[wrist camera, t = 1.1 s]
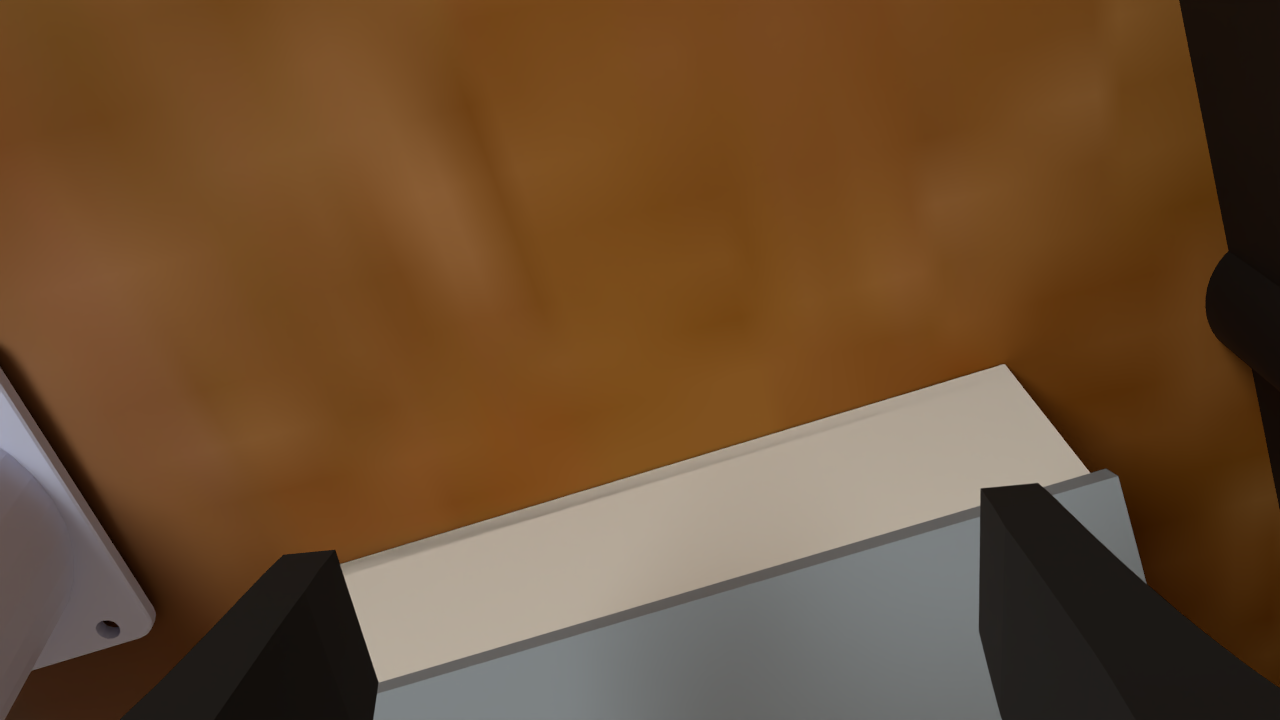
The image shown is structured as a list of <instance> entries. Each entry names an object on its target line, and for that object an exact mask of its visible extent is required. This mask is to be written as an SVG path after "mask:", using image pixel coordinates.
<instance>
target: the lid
mask: <svg viewBox="0 0 1280 720" xmlns="http://www.w3.org/2000/svg"><path fill="white" fill-rule="evenodd" d="M1043 488H1045V489H1046V490H1047V491H1048V492H1049V493H1050V494H1051V495H1052V496H1053V497H1054V498H1055V499H1056V500H1058V501H1059V502H1060V503H1061V504H1062V505H1063V506H1064V507H1065V508H1066V509H1067V510H1068V511H1069V512H1070V513H1071V514H1072V515H1073V516H1074V517H1075V518H1076V519H1077V520H1078V521H1079V522H1080V523H1081V524H1082V525H1083V526H1084V527H1085V528H1086V529H1087V530H1088V531H1089V532H1091V533H1092V534H1093V535H1094V536H1095V537H1096V538H1097V539H1098V540H1099V541H1100V542H1101V543H1102V544H1103V545H1104V546H1105V547H1106V548H1108V549H1109V550H1110V551H1111V552H1112V553H1113V554H1114V555H1115V556H1116V557H1117V558H1118V559H1119V560H1120V561H1122V562H1123V563H1124V564H1125V565H1126V566H1127V567H1128V568H1129V569H1130V570H1131V571H1133V572H1134V573H1135V574H1136V575H1137V576H1138V577H1139V578H1140V579H1142V580H1143V581H1144V582H1145V583H1146V579H1145V576H1144V572H1143V568H1142V564H1141V560H1140V557H1139V553H1138V549H1137V545H1136V542H1135V538H1134V534H1133V530H1132V526H1131V523H1130V519H1129V515H1128V511H1127V508H1126V504H1125V500H1124V496H1123V493H1122V489H1121V485H1120V481H1119V477H1118V476H1117V475H1116V474H1114V473H1112V472H1111V471H1109V470H1107V469H1103V470H1099V471H1096V472H1093V473H1089V474H1086V475H1082V476H1079V477H1076V478H1072V479H1069V480H1065V481H1062V482H1059V483H1055V484H1052V485H1048V486H1045V487H1043ZM979 568H980V506H977V507H974V508H970V509H967V510H964V511H960V512H957V513H953V514H950V515H947V516H943V517H940V518H936V519H933V520H930V521H926V522H923V523H919V524H916V525H913V526H909V527H906V528H902V529H899V530H896V531H892V532H889V533H885V534H882V535H879V536H875V537H872V538H868V539H865V540H862V541H858V542H855V543H851V544H848V545H845V546H841V547H838V548H834V549H831V550H828V551H824V552H821V553H817V554H814V555H811V556H807V557H804V558H800V559H797V560H794V561H790V562H787V563H783V564H780V565H777V566H773V567H770V568H766V569H763V570H760V571H756V572H753V573H749V574H746V575H743V576H739V577H736V578H732V579H729V580H726V581H722V582H719V583H716V584H712V585H709V586H705V587H702V588H699V589H695V590H692V591H688V592H685V593H682V594H678V595H675V596H671V597H668V598H665V599H661V600H658V601H654V602H651V603H648V604H644V605H641V606H637V607H634V608H631V609H627V610H624V611H620V612H617V613H614V614H610V615H607V616H603V617H600V618H597V619H593V620H590V621H586V622H583V623H580V624H576V625H573V626H569V627H566V628H563V629H559V630H556V631H552V632H549V633H546V634H542V635H539V636H535V637H532V638H529V639H525V640H522V641H518V642H515V643H512V644H508V645H505V646H501V647H498V648H495V649H491V650H488V651H484V652H481V653H478V654H474V655H471V656H467V657H464V658H461V659H457V660H454V661H451V662H447V663H444V664H440V665H437V666H434V667H430V668H427V669H423V670H420V671H417V672H413V673H410V674H406V675H403V676H400V677H396V678H393V679H389V680H386V681H383V682H379V683H378V690H377V697H376V704H375V711H374V718H373V720H1002V718H1001V716H1000V712H999V708H998V705H997V701H996V697H995V693H994V690H993V686H992V682H991V678H990V674H989V670H988V666H987V662H986V658H985V654H984V650H983V646H982V642H981V638H980V634H979ZM1146 584H1147V583H1146Z"/></svg>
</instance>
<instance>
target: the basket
mask: <svg viewBox="0 0 1280 720" xmlns="http://www.w3.org/2000/svg"><path fill="white" fill-rule="evenodd" d="M1179 1H1180V6H1181V11H1182V17H1183V22H1184V27H1185V32H1186V37H1187V42H1188V47H1189V52H1190V57H1191V62H1192V67H1193V72H1194V77H1195V82H1196V88H1197V93H1198V98H1199V103H1200V108H1201V113H1202V118H1203V123H1204V128H1205V133H1206V138H1207V143H1208V148H1209V153H1210V159H1211V164H1212V169H1213V174H1214V179H1215V184H1216V189H1217V194H1218V199H1219V204H1220V209H1221V214H1222V219H1223V224H1224V230H1225V235H1226V240H1227V245H1228V250H1229V251H1228V252H1227V253H1226V254H1225V255H1224V257H1223V258H1222V259H1221V260H1220V262H1219V263H1218V265H1217V266H1216V268H1215V270H1214V272H1213V274H1212V276H1211V278H1210V281H1209V284H1208V287H1207V293H1206V315H1207V319H1208V322H1209V325H1210V327H1211V329H1212V331H1213V333H1214V334H1215V336H1216V337H1217V338H1218V339H1219V340H1220V341H1221V342H1222V343H1223V344H1224V345H1225V346H1226V347H1228V348H1229V349H1230V350H1231V351H1232V352H1233V353H1235V354H1236V355H1237V356H1238V357H1239V358H1241V359H1242V360H1243V361H1244V362H1245V363H1246V364H1248V365H1249V366H1250V367H1251V368H1252V372H1253V377H1254V382H1255V387H1256V392H1257V397H1258V402H1259V407H1260V412H1261V417H1262V422H1263V427H1264V432H1265V437H1266V443H1267V448H1268V453H1269V458H1270V463H1271V468H1272V473H1273V478H1274V483H1275V488H1276V493H1277V498H1278V503H1279V508H1280V0H1179Z"/></svg>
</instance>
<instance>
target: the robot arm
mask: <svg viewBox="0 0 1280 720" xmlns="http://www.w3.org/2000/svg"><path fill="white" fill-rule="evenodd" d="M155 617H156V613H155V610H154V607H153V606H152V604H151V603H150V601H149V599H148V598H147V596H146V595H145V593H144V592H143V590H142V588H141V587H140V585H139V584H138V582H137V581H136V579H135V577H134V576H133V574H132V573H131V571H130V570H129V568H128V566H127V565H126V563H125V562H124V560H123V559H122V557H121V555H120V554H119V552H118V551H117V549H116V548H115V546H114V545H113V543H112V541H111V540H110V538H109V537H108V535H107V534H106V532H105V530H104V529H103V527H102V526H101V524H100V523H99V521H98V519H97V518H96V516H95V515H94V513H93V512H92V510H91V508H90V507H89V505H88V504H87V502H86V501H85V499H84V497H83V496H82V494H81V493H80V491H79V490H78V488H77V487H76V485H75V483H74V482H73V480H72V479H71V477H70V476H69V474H68V472H67V471H66V469H65V468H64V466H63V465H62V463H61V461H60V460H59V458H58V457H57V455H56V454H55V452H54V450H53V449H52V447H51V446H50V444H49V443H48V441H47V439H46V438H45V436H44V435H43V433H42V432H41V430H40V429H39V427H38V425H37V424H36V422H35V421H34V419H33V418H32V416H31V414H30V413H29V411H28V410H27V408H26V407H25V405H24V403H23V402H22V400H21V399H20V397H19V396H18V394H17V392H16V391H15V389H14V388H13V386H12V385H11V383H10V381H9V380H8V378H7V377H6V375H5V374H4V372H3V371H2V369H1V367H0V720H5V718H6V716H7V715H8V713H9V711H10V709H11V707H12V705H13V704H14V702H15V700H16V698H17V696H18V694H19V693H20V691H21V689H22V687H23V685H24V683H25V682H26V680H27V678H28V676H29V674H30V672H31V671H33V670H36V669H39V668H42V667H46V666H49V665H52V664H56V663H59V662H62V661H66V660H69V659H72V658H76V657H79V656H82V655H86V654H89V653H92V652H96V651H99V650H102V649H106V648H109V647H112V646H116V645H119V644H122V643H126V642H129V641H132V640H136V639H139V638H141V637H143V636H145V635H147V634H148V633H149V631H150V630H151V629H152V626H153V624H154V622H155ZM106 620H109V621H112V622H115V623H116V624H117V625H118V626H119V627H111V626H107V625H106V624H105V623H104V622H103V621H106ZM979 634H980V638H981V642H982V646H983V650H984V654H985V658H986V662H987V666H988V670H989V674H990V678H991V682H992V686H993V690H994V693H995V697H996V701H997V705H998V708H999V712H1000V716H1001V718H1002V720H1280V688H1279V687H1277V686H1276V685H1274V684H1273V683H1271V682H1270V681H1268V680H1267V679H1266V678H1264V677H1263V676H1261V675H1260V674H1259V673H1257V672H1256V671H1254V670H1253V669H1252V668H1250V667H1249V666H1247V665H1246V664H1245V663H1243V662H1242V661H1241V660H1239V659H1238V658H1237V657H1235V656H1234V655H1233V654H1231V653H1230V652H1229V651H1228V650H1226V649H1225V648H1224V647H1222V646H1221V645H1220V644H1219V643H1217V642H1216V641H1215V640H1213V639H1212V638H1211V637H1210V636H1208V635H1207V634H1206V633H1204V632H1203V631H1202V630H1201V629H1199V628H1198V627H1197V626H1196V625H1195V624H1193V623H1192V622H1191V621H1190V620H1188V619H1187V618H1186V617H1185V616H1184V615H1182V614H1181V613H1180V612H1179V611H1177V610H1176V609H1175V608H1174V607H1173V606H1172V605H1171V604H1169V603H1168V602H1167V601H1166V600H1165V599H1164V598H1162V597H1161V596H1160V595H1159V594H1158V593H1157V592H1156V591H1154V590H1153V589H1152V588H1151V587H1150V586H1149V585H1147V584H1146V583H1145V582H1144V581H1143V580H1142V579H1140V578H1139V577H1138V576H1137V575H1136V574H1135V573H1134V572H1133V571H1131V570H1130V569H1129V568H1128V567H1127V566H1126V565H1125V564H1124V563H1123V562H1122V561H1120V560H1119V559H1118V558H1117V557H1116V556H1115V555H1114V554H1113V553H1112V552H1111V551H1110V550H1109V549H1108V548H1106V547H1105V546H1104V545H1103V544H1102V543H1101V542H1100V541H1099V540H1098V539H1097V538H1096V537H1095V536H1094V535H1093V534H1092V533H1091V532H1089V531H1088V530H1087V529H1086V528H1085V527H1084V526H1083V525H1082V524H1081V523H1080V522H1079V521H1078V520H1077V519H1076V518H1075V517H1074V516H1073V515H1072V514H1071V513H1070V512H1069V511H1068V510H1067V509H1066V508H1065V507H1064V506H1063V505H1062V504H1061V503H1060V502H1059V501H1058V500H1056V499H1055V498H1054V497H1053V496H1052V495H1051V494H1050V493H1049V492H1048V491H1047V490H1046V489H1045V488H1043V487H1042V486H1041V485H1040V484H1039V483H1032V484H1021V485H1011V486H1000V487H990V488H981V489H980V568H979ZM378 683H379V682H378V679H377V676H376V673H375V670H374V667H373V664H372V661H371V658H370V655H369V652H368V649H367V645H366V642H365V639H364V636H363V633H362V630H361V627H360V624H359V621H358V618H357V615H356V612H355V609H354V606H353V603H352V600H351V597H350V594H349V591H348V587H347V584H346V581H345V578H344V575H343V572H342V569H341V566H340V563H339V560H338V557H337V554H336V551H335V550H329V551H319V552H308V553H298V554H287V555H283V556H282V557H281V558H280V559H279V560H278V561H277V562H276V563H274V564H273V565H272V566H271V567H270V568H269V569H268V570H267V571H266V572H265V573H264V574H263V575H262V576H261V577H260V579H259V580H258V581H257V582H256V583H255V584H254V585H253V586H252V587H251V588H250V589H249V590H248V591H247V592H246V593H245V594H244V595H243V596H242V597H241V598H240V599H239V600H238V602H237V603H236V604H235V605H234V606H233V607H232V608H231V609H230V610H229V611H228V612H227V613H226V614H225V615H224V616H223V617H222V618H221V619H220V621H219V622H218V623H217V624H216V625H215V626H214V627H213V628H212V629H211V630H210V631H209V632H208V633H207V634H206V635H205V636H204V637H203V638H202V639H201V640H200V641H199V642H198V643H197V644H196V645H195V646H194V647H193V648H192V649H191V651H190V652H189V653H188V654H187V655H186V656H185V657H184V658H183V659H182V660H181V661H180V662H179V663H178V664H177V665H176V666H175V667H174V668H173V669H172V670H171V671H170V672H169V673H168V674H167V675H166V676H165V677H164V678H163V679H162V680H161V681H160V682H159V683H158V684H157V685H156V686H155V687H154V688H153V689H152V690H151V691H150V692H149V693H148V694H147V695H145V696H144V697H143V698H142V699H141V700H140V701H139V702H138V703H137V704H136V705H135V706H134V707H133V708H132V709H131V710H130V711H129V712H127V713H126V714H125V715H124V716H123V717H122V718H121V719H120V720H373V718H374V711H375V704H376V697H377V690H378Z"/></svg>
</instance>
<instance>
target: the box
mask: <svg viewBox="0 0 1280 720" xmlns="http://www.w3.org/2000/svg"><path fill="white" fill-rule="evenodd" d="M1089 473H1090V472H1089V471H1088V470H1087V468H1086V467H1085V466H1084V464H1083V463H1082V462H1081V461H1080V459H1079V458H1078V457H1077V456H1076V454H1075V453H1074V452H1073V450H1072V449H1071V448H1070V447H1069V445H1068V444H1067V443H1066V441H1065V440H1064V439H1063V438H1062V436H1061V435H1060V434H1059V433H1058V431H1057V430H1056V429H1055V427H1054V426H1053V425H1052V424H1051V422H1050V421H1049V420H1048V419H1047V417H1046V416H1045V415H1044V413H1043V412H1042V411H1041V410H1040V408H1039V407H1038V406H1037V405H1036V403H1035V402H1034V401H1033V399H1032V398H1031V397H1030V396H1029V394H1028V393H1027V392H1026V391H1025V389H1024V388H1023V387H1022V385H1021V384H1020V383H1019V382H1018V380H1017V379H1016V378H1015V377H1014V375H1013V374H1012V373H1011V371H1010V370H1009V369H1008V368H1007V366H1006V365H1005V364H1003V365H1000V366H997V367H993V368H990V369H987V370H983V371H980V372H977V373H973V374H970V375H967V376H963V377H960V378H957V379H953V380H950V381H947V382H943V383H940V384H937V385H934V386H930V387H927V388H924V389H920V390H917V391H914V392H910V393H907V394H904V395H900V396H897V397H894V398H890V399H887V400H884V401H880V402H877V403H874V404H870V405H867V406H864V407H860V408H857V409H854V410H851V411H847V412H844V413H841V414H837V415H834V416H831V417H827V418H824V419H821V420H817V421H814V422H811V423H807V424H804V425H801V426H797V427H794V428H791V429H787V430H784V431H781V432H778V433H774V434H771V435H768V436H764V437H761V438H758V439H754V440H751V441H748V442H744V443H741V444H738V445H734V446H731V447H728V448H724V449H721V450H718V451H714V452H711V453H708V454H705V455H701V456H698V457H695V458H691V459H688V460H685V461H681V462H678V463H675V464H671V465H668V466H665V467H661V468H658V469H655V470H651V471H648V472H645V473H641V474H638V475H635V476H631V477H628V478H625V479H622V480H618V481H615V482H612V483H608V484H605V485H602V486H598V487H595V488H592V489H588V490H585V491H582V492H578V493H575V494H572V495H568V496H565V497H562V498H558V499H555V500H552V501H549V502H545V503H542V504H539V505H535V506H532V507H529V508H525V509H522V510H519V511H515V512H512V513H509V514H505V515H502V516H499V517H495V518H492V519H489V520H485V521H482V522H479V523H476V524H472V525H469V526H466V527H462V528H459V529H456V530H452V531H449V532H446V533H442V534H439V535H436V536H432V537H429V538H426V539H422V540H419V541H416V542H412V543H409V544H406V545H402V546H399V547H396V548H393V549H389V550H386V551H383V552H379V553H376V554H373V555H369V556H366V557H363V558H359V559H356V560H353V561H349V562H346V563H343V564H340V566H341V569H342V572H343V575H344V578H345V581H346V584H347V587H348V591H349V594H350V597H351V600H352V603H353V606H354V609H355V612H356V615H357V618H358V621H359V624H360V627H361V630H362V633H363V636H364V639H365V642H366V645H367V649H368V652H369V655H370V658H371V661H372V664H373V667H374V670H375V673H376V676H377V679H378V682H383V681H386V680H389V679H393V678H396V677H400V676H403V675H406V674H410V673H413V672H417V671H420V670H423V669H427V668H430V667H434V666H437V665H440V664H444V663H447V662H451V661H454V660H457V659H461V658H464V657H467V656H471V655H474V654H478V653H481V652H484V651H488V650H491V649H495V648H498V647H501V646H505V645H508V644H512V643H515V642H518V641H522V640H525V639H529V638H532V637H535V636H539V635H542V634H546V633H549V632H552V631H556V630H559V629H563V628H566V627H569V626H573V625H576V624H580V623H583V622H586V621H590V620H593V619H597V618H600V617H603V616H607V615H610V614H614V613H617V612H620V611H624V610H627V609H631V608H634V607H637V606H641V605H644V604H648V603H651V602H654V601H658V600H661V599H665V598H668V597H671V596H675V595H678V594H682V593H685V592H688V591H692V590H695V589H699V588H702V587H705V586H709V585H712V584H716V583H719V582H722V581H726V580H729V579H732V578H736V577H739V576H743V575H746V574H749V573H753V572H756V571H760V570H763V569H766V568H770V567H773V566H777V565H780V564H783V563H787V562H790V561H794V560H797V559H800V558H804V557H807V556H811V555H814V554H817V553H821V552H824V551H828V550H831V549H834V548H838V547H841V546H845V545H848V544H851V543H855V542H858V541H862V540H865V539H868V538H872V537H875V536H879V535H882V534H885V533H889V532H892V531H896V530H899V529H902V528H906V527H909V526H913V525H916V524H919V523H923V522H926V521H930V520H933V519H936V518H940V517H943V516H947V515H950V514H953V513H957V512H960V511H964V510H967V509H970V508H974V507H977V506H980V489H981V488H990V487H1000V486H1011V485H1021V484H1032V483H1039V484H1040V485H1041V486H1042V487H1045V486H1048V485H1052V484H1055V483H1059V482H1062V481H1065V480H1069V479H1072V478H1076V477H1079V476H1082V475H1086V474H1089Z"/></svg>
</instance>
